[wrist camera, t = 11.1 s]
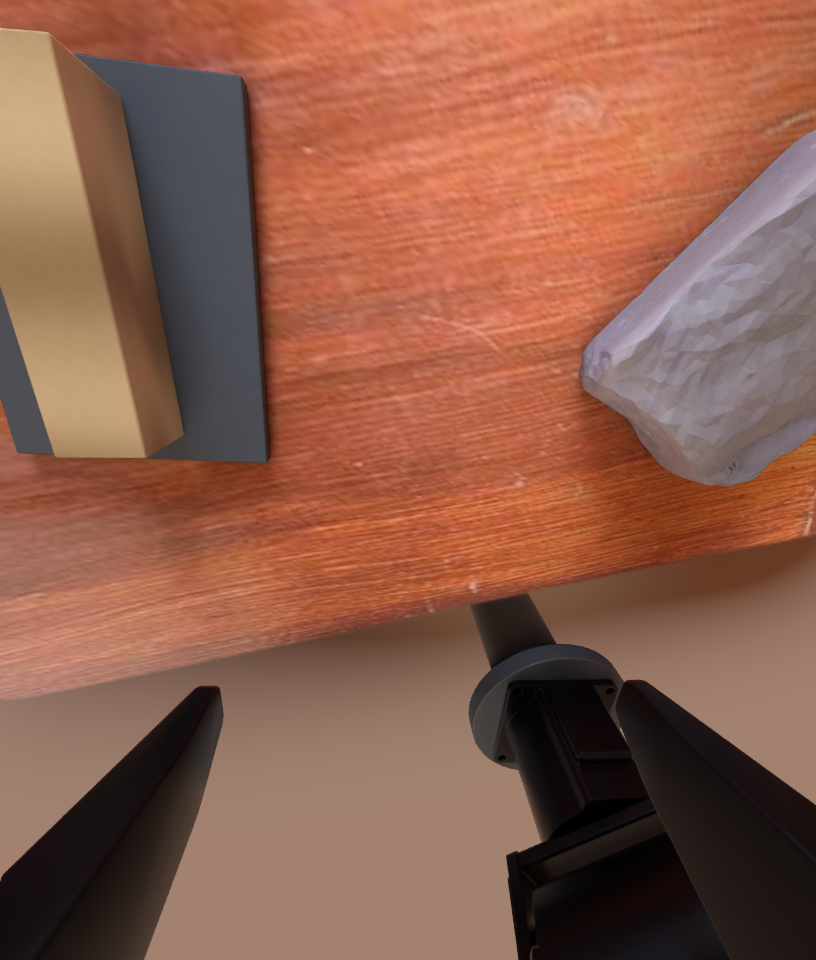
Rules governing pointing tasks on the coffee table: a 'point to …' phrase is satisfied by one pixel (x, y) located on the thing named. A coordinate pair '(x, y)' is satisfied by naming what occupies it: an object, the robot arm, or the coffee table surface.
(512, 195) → the coffee table surface
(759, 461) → the stone block
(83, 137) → the maple bar
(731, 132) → the coffee table surface
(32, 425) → the grey mat
